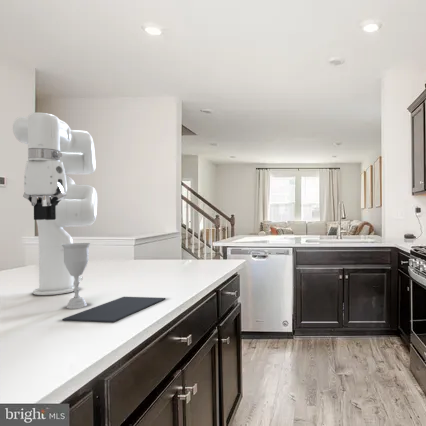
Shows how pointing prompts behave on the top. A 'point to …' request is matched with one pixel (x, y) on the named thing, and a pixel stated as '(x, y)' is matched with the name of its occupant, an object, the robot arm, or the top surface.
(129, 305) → the mat
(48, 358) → the top surface
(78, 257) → the chalice
